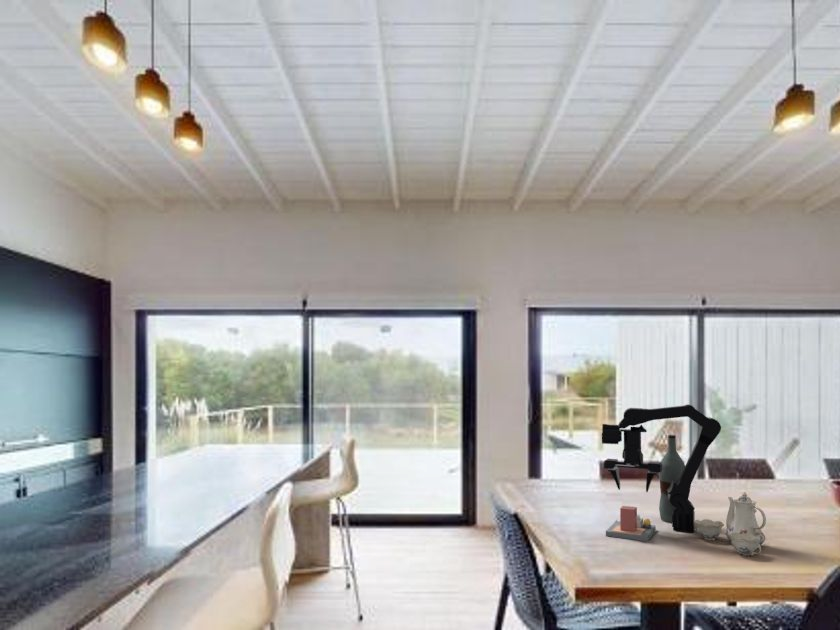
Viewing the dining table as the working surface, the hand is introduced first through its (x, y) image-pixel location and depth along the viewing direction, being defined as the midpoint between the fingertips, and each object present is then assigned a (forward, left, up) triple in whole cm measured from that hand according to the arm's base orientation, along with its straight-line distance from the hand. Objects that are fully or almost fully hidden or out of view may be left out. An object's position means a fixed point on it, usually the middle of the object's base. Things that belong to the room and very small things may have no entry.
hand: (633, 490), depth 236 cm
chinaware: (-33, +10, -12) cm, 36 cm away
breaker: (-1, +6, -10) cm, 12 cm away
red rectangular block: (-1, +14, -10) cm, 17 cm away
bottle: (-11, -16, -12) cm, 23 cm away
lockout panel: (-1, +10, -12) cm, 16 cm away
